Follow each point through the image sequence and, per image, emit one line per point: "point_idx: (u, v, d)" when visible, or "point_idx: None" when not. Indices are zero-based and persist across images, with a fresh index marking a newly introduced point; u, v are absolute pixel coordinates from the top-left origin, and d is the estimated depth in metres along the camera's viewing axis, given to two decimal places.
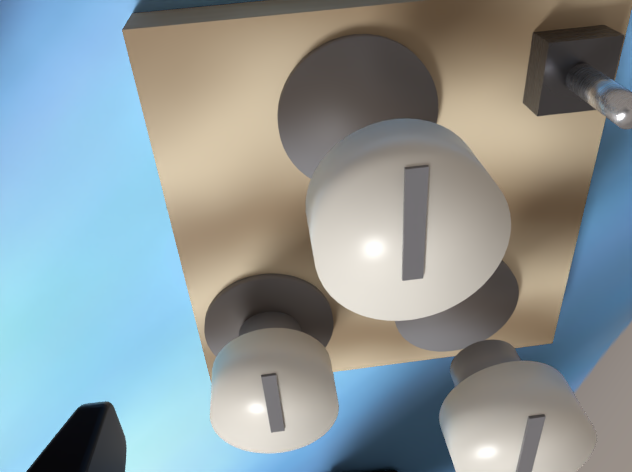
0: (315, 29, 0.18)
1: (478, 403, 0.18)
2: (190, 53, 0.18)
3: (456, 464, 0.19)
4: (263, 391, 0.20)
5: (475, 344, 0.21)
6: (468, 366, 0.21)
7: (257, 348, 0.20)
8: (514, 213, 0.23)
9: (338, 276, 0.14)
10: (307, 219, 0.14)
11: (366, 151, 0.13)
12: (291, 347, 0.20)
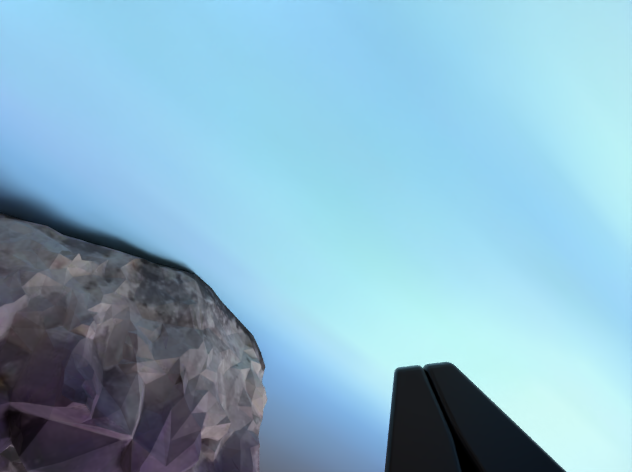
0: None
1: None
2: None
3: None
4: None
5: None
6: None
7: None
8: None
9: None
10: None
11: None
12: None
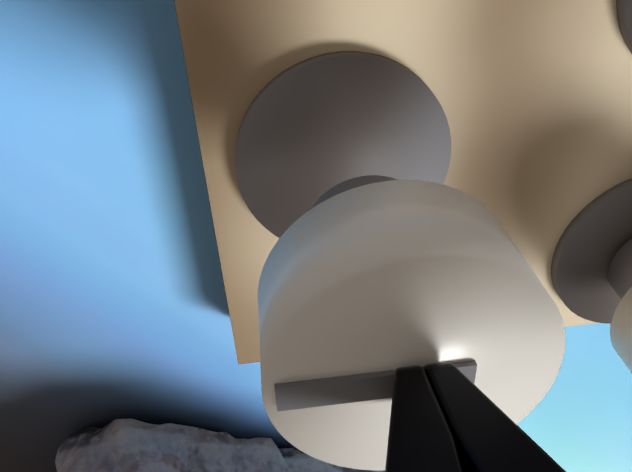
0: (232, 209, 0.15)
1: None
2: None
3: None
4: None
5: None
6: None
7: (630, 351, 0.15)
8: None
9: None
10: None
11: None
12: None
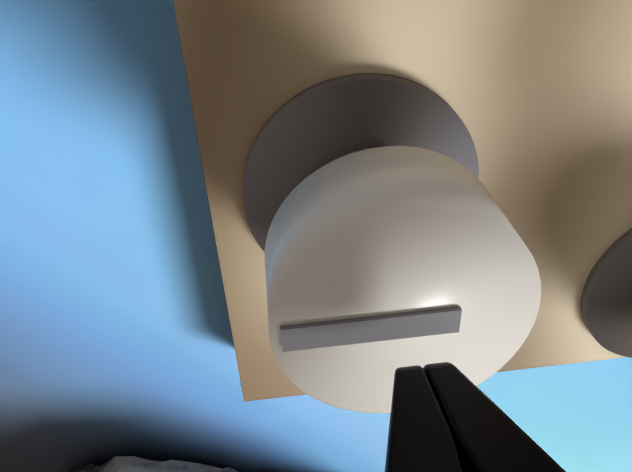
0: (238, 242, 0.14)
1: None
2: (267, 354, 0.16)
3: None
4: None
5: None
6: None
7: None
8: None
9: None
10: None
11: None
12: None
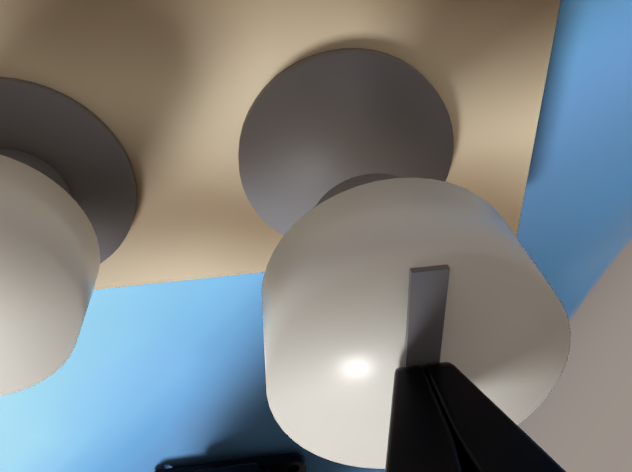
0: None
1: (312, 254, 0.08)
2: None
3: (266, 390, 0.09)
4: None
5: (348, 181, 0.11)
6: None
7: None
8: None
9: None
10: None
11: None
12: None
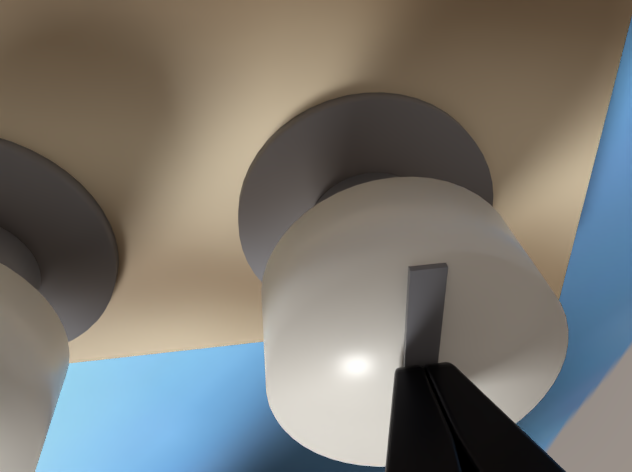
0: None
1: (311, 253, 0.08)
2: None
3: (266, 388, 0.09)
4: None
5: (347, 180, 0.11)
6: None
7: None
8: (482, 1, 0.10)
9: None
10: None
11: None
12: None
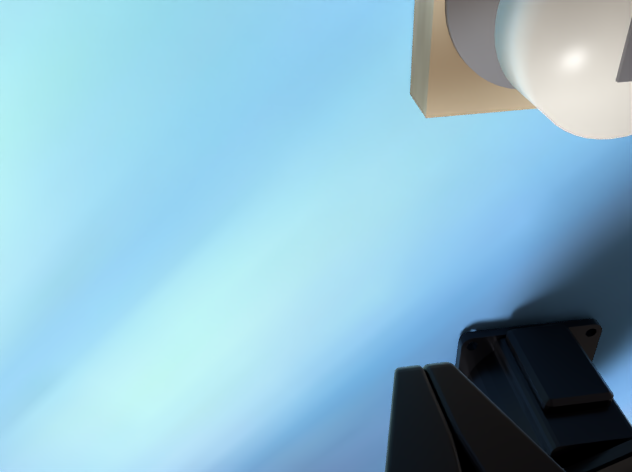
0: None
1: None
2: None
3: None
4: None
5: None
6: None
7: None
8: None
9: None
10: None
11: None
12: None
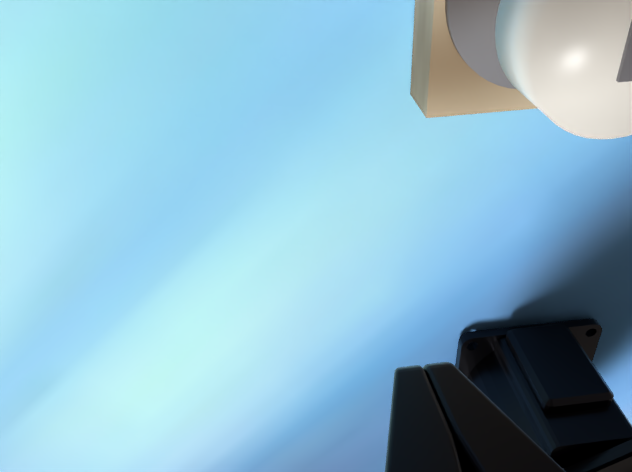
0: None
1: None
2: None
3: None
4: None
5: None
6: None
7: None
8: None
9: None
10: None
11: None
12: None
